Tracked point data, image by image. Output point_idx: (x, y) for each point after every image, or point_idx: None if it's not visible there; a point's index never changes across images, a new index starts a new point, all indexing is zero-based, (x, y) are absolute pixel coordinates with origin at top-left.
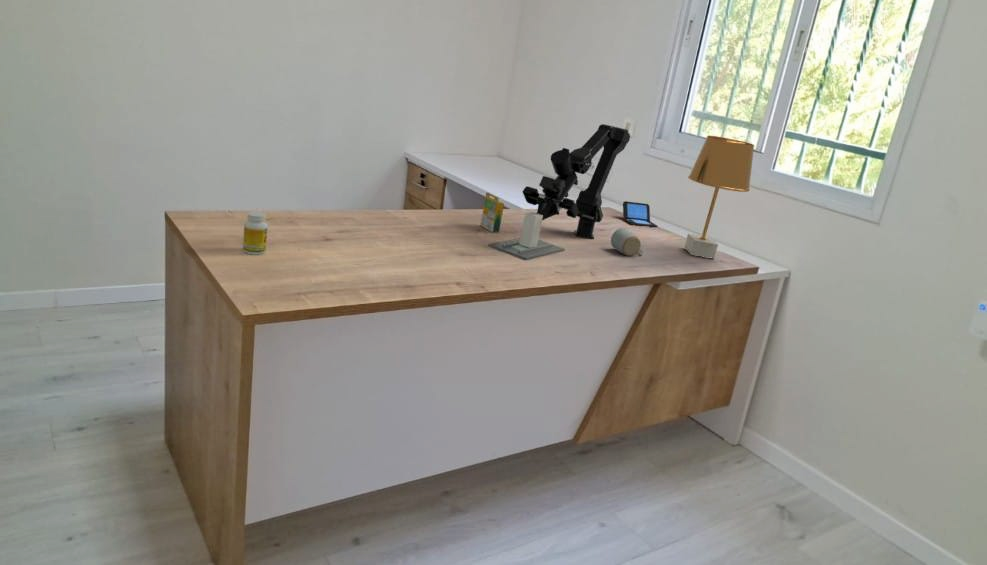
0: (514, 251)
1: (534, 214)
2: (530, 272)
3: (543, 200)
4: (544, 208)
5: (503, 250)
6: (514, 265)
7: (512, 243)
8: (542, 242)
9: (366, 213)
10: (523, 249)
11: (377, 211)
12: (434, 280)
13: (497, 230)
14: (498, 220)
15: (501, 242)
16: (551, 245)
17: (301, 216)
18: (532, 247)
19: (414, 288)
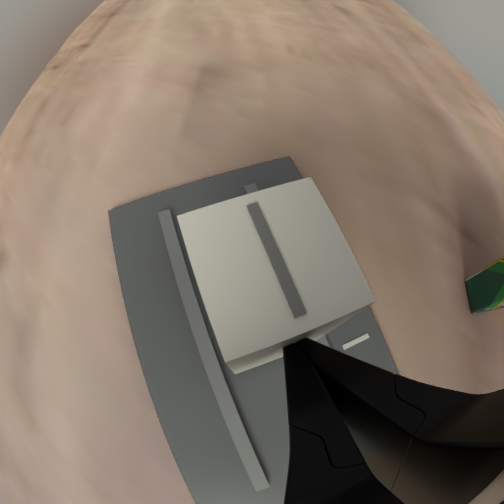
0: (187, 206)
1: (262, 253)
2: (37, 170)
3: (488, 454)
4: (350, 449)
5: (217, 177)
6: (90, 151)
7: None
8: None
9: (464, 73)
10: None
11: (488, 94)
12: (111, 28)
13: (473, 301)
14: (501, 282)
15: None
16: (252, 483)
17: (398, 14)
18: None
19: (104, 17)
